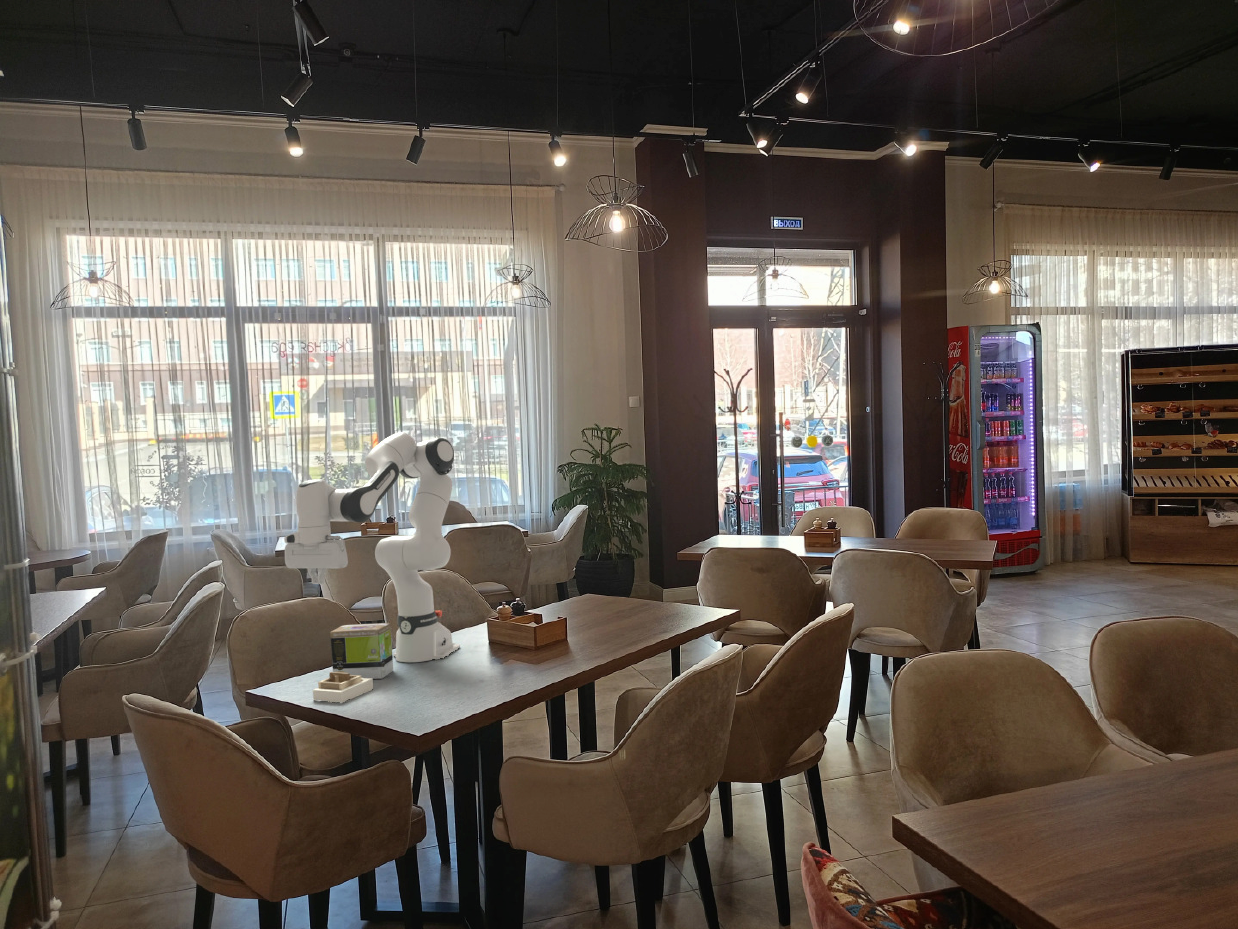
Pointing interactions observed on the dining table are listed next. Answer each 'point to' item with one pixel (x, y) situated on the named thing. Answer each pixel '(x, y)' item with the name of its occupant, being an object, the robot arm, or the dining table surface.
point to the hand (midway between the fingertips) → (317, 583)
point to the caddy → (339, 681)
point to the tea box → (362, 650)
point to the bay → (343, 691)
